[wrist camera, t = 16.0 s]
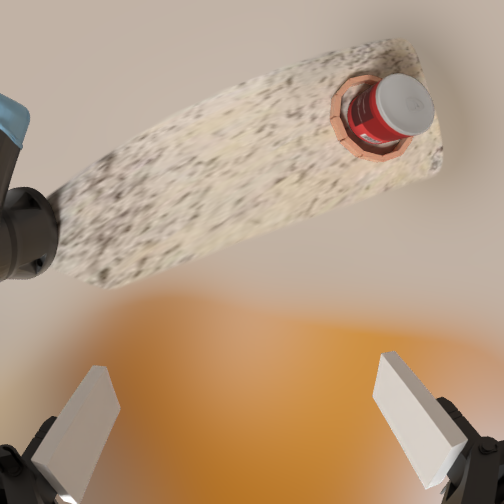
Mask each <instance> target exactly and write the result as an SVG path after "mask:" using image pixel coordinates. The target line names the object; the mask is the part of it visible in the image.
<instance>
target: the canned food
mask: <svg viewBox="0 0 504 504" xmlns="http://www.w3.org/2000/svg"><path fill="white" fill-rule="evenodd" d="M347 118H348V123H349V126H350V128H351V130H352V131H353V132H354V134H355V135H356V136H357V137H359V138H360V139H362V140H364V141H366V142H368V143H372V144H382V143H386V142H390V141H394V140H399V139H403V138H408V137H412V136H416V135H419V134H421V133H423V132H425V131H426V130H428V129H429V127H430V126H431V124H432V122H433V119H434V105H433V101H432V98H431V96H430V94H429V93H428V91H427V89H426V88H425V87H424V86H423V85H422V84H421V83H420V82H419V81H418V80H416V79H415V78H413V77H411V76H409V75H406V74H402V73H396V74H391V75H389V76H387V77H385V78H383V79H382V80H380V81H378V82H377V83H376V84H374V85H373V86H371V87H370V88H368V89H367V90H366V91H364V92H363V93H361V94H360V95H359V96H357V97H356V98H355V99H354V100H353V101H352V102H351V103H350V105H349V108H348V114H347Z"/></svg>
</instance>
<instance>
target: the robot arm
mask: <svg viewBox="0 0 504 504" xmlns="http://www.w3.org/2000/svg"><path fill="white" fill-rule="evenodd" d="M29 122H30V114H29V111H28V110H27V108H26V107H24V106H23V105H21V104H19V103H18V102H16V101H14V100H12V99H10V98H8V97H6V96H4V95H3V94H1V93H0V282H1V281H3V280H5V279H22V280H23V279H24V280H26V279H31V278H34V277H36V276H38V275H40V274H42V273H43V272H45V271H46V270H47V269H48V267H49V266H50V265H51V263H52V261H53V259H54V256H55V253H56V249H57V240H58V234H57V225H56V220H55V216H54V213H53V211H52V208H51V206H50V204H49V203H48V201H47V200H46V198H45V197H44V196H43V195H42V194H41V193H40V192H38V191H37V190H35V189H33V188H30V187H19V188H13V189H10V190H8V188H9V184H10V180H11V177H12V174H13V171H14V168H15V164H16V161H17V158H18V156H19V152H20V150H22V148H23V145H22V143H23V140H24V137H25V134H26V131H27V128H28V125H29ZM373 398H374V400H375V402H376V403H377V405H378V407H379V408H380V410H381V412H382V414H383V415H384V417H385V419H386V420H387V422H388V424H389V426H390V427H391V429H392V431H393V433H394V434H395V436H396V438H397V440H398V441H399V443H400V445H401V447H402V448H403V450H404V452H405V454H406V455H407V457H408V459H409V461H410V462H411V464H412V466H413V468H414V470H415V472H416V473H417V475H418V477H419V479H420V481H421V482H422V484H423V486H424V488H425V489H428V488H430V487H433V486H435V485H437V484H439V483H441V482H442V481H443V479H444V478H445V476H446V475H447V476H448V477H449V479H450V480H449V482H448V483H447V484H446V486H445V487H444V488H443V490H442V491H441V494H443V493H444V492H445V494H444V497H443V500H442V503H441V504H504V440H503V441H499V442H498V441H497V440H495V439H494V438H491V437H488V436H487V437H481V436H480V435H479V434H478V433H477V431H476V430H475V429H474V428H473V427H472V426H471V424H470V423H469V422H468V421H467V419H466V418H465V417H464V416H462V414H461V412H460V411H458V409H457V408H456V407H455V406H454V404H453V403H452V402H451V401H449V400H447V399H446V398H444V397H441V398H437V399H435V398H434V397H433V395H432V394H431V393H430V392H429V391H428V389H427V388H426V387H425V386H424V385H423V383H422V382H421V381H420V380H419V379H418V377H417V376H416V375H415V374H414V373H413V371H412V370H411V369H410V368H409V367H408V366H407V364H406V363H405V362H404V361H403V360H402V359H401V357H400V356H399V355H398V354H397V353H396V352H395V351H392V352H387V353H382V354H381V358H380V363H379V369H378V373H377V378H376V383H375V387H374V392H373ZM119 411H120V405H119V403H118V400H117V397H116V394H115V392H114V389H113V386H112V383H111V380H110V377H109V374H108V370H107V367H105V366H92V368H91V369H90V370H89V372H88V373H87V375H86V376H85V378H84V379H83V381H82V382H81V384H80V385H79V386H78V388H77V389H76V391H75V392H74V394H73V395H72V397H71V398H70V400H69V401H68V402H67V404H66V405H65V407H64V408H63V410H62V411H61V413H60V415H59V416H58V417H54V416H51V417H50V418H49V419H47V420H46V421H45V422H44V423H43V424H42V426H41V427H40V429H39V431H38V432H37V433H36V435H35V438H33V439H32V441H31V442H30V444H29V445H28V447H27V448H26V450H25V452H24V453H23V455H22V456H20V455H19V453H18V452H17V450H16V449H15V448H14V447H13V446H11V445H8V444H5V445H0V504H58V502H57V501H56V499H55V497H56V495H57V494H58V495H59V496H60V497H61V498H62V499H63V500H64V501H66V502H69V503H72V504H80V503H81V500H82V498H83V495H84V493H85V490H86V488H87V485H88V483H89V480H90V478H91V475H92V473H93V470H94V468H95V465H96V463H97V461H98V459H99V456H100V454H101V451H102V449H103V447H104V445H105V442H106V440H107V438H108V436H109V433H110V431H111V428H112V426H113V424H114V422H115V420H116V418H117V415H118V413H119Z"/></svg>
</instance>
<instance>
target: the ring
mask: <svg viewBox="0 0 504 504" xmlns="http://www.w3.org/2000/svg"><path fill="white" fill-rule="evenodd" d="M380 80H382V78H379V77H376V76H373V75H370V74H369V75H368V74H367V75H363V76H358V77H354V78H350V79H348V80H347V81H346V82H345V83H344V84H343V85H342V86H341V87H340V89H339V90H338V91H337V92H336V93H335V95H334V96H333V98H332V101H331V111H330V119H331V120H330V122H331V124H332V126H333V129H334V131H335V134H336V136H337V138H338V141H339V140H341V141H340V143H341V144H342V145H343V146H344V147H345V148H347V149H348V150H349V151H350V152H351V153H352V154H353V155H354V156H356V157H357V156H358V157H357V158H361V159H365V160H369V161H373V162H384V161H387V160H390V159H393V158H395V157H398V156H401V155H402V154H403V153H404V152H405V150H406V149H407V147H408V146H409V144H410V143H411V141H412V138H413V136H412V137H408V138H403V139H401V140H400V142H399V143H398V144H397V146H396V147H395V149H394V150H393V151H392V152H389V153H387V154H384V155H377V154H374V153H370V152H366V151H363V150H362V149H361V148H360V147H359V146H358V145H357V144H356V143H355V142H353V141H352V140H351V139H350V138H349V137H348V135H347V133H346V131H345V128H344V126H343V123H342V121H341V119H340V107H341V97H342V95H343V94H344V93H345V92H346V91H347V89H348V88H349V87H351V86H355V85H359V84H363V83H365V84H369V85H372V86H373V85H374V84H376V83H377V82H378V81H380Z"/></svg>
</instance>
